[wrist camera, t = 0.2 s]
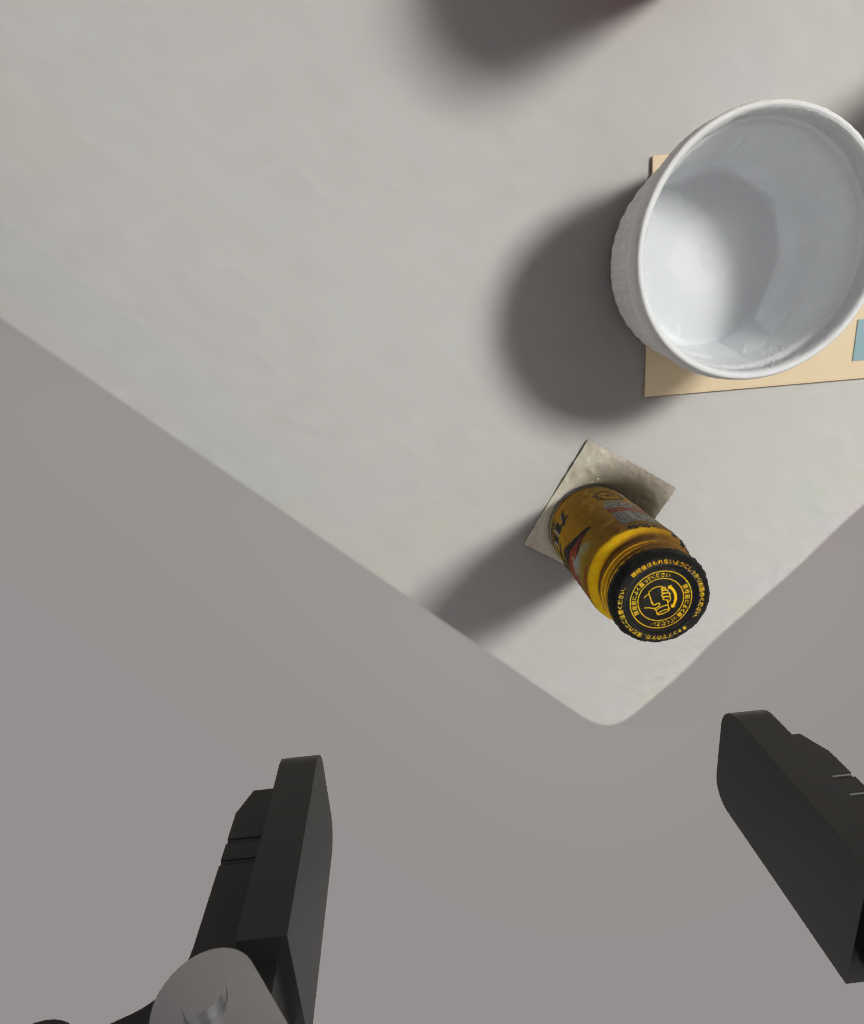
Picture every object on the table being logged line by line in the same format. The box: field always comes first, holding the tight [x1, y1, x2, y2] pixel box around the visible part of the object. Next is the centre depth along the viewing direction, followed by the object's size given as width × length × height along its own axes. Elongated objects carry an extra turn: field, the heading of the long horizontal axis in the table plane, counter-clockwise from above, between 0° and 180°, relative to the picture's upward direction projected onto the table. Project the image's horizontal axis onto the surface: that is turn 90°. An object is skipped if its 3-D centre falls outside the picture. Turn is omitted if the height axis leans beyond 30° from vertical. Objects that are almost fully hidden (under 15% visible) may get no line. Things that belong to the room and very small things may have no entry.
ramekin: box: [611, 98, 864, 380], centre depth 33 cm, size 13×13×7 cm
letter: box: [644, 155, 864, 397], centre depth 37 cm, size 14×18×1 cm
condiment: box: [524, 439, 710, 642], centre depth 36 cm, size 7×8×12 cm
